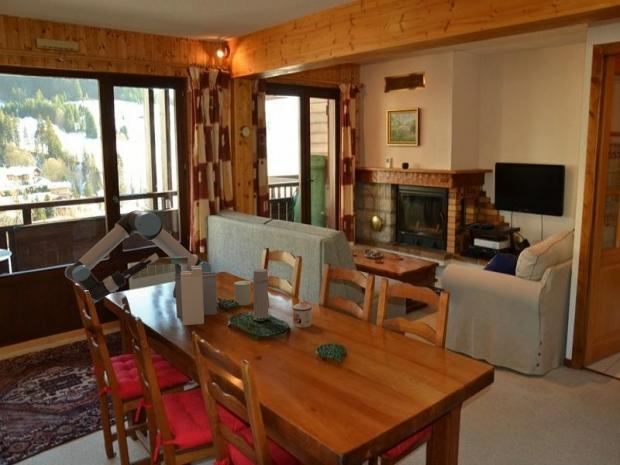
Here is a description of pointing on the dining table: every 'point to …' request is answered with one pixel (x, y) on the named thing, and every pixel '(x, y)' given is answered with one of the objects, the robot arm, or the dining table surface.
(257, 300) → the water bottle
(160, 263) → the walnut pin
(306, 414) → the dining table surface
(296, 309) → the teacup with lid
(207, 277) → the grey box
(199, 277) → the cream stand
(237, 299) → the can
